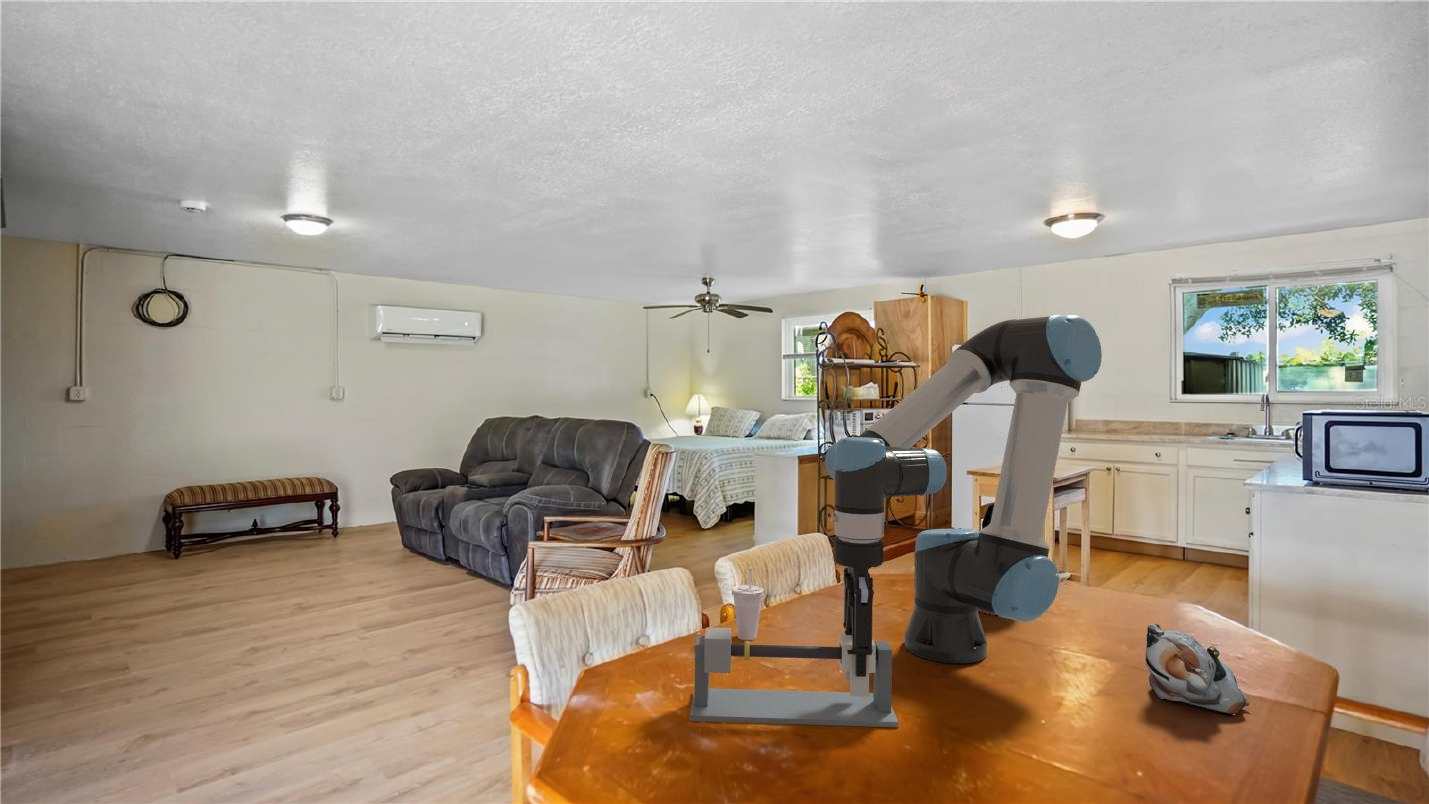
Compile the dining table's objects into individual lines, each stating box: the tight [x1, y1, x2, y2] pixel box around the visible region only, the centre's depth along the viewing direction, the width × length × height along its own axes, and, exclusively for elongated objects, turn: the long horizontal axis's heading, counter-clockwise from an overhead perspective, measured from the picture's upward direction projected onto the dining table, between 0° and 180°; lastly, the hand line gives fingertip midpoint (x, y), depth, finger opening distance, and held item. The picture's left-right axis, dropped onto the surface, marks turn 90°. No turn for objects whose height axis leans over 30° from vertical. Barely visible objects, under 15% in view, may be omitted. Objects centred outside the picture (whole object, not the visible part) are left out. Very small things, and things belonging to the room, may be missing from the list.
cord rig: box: [689, 626, 900, 728], centre depth 113 cm, size 31×10×12 cm, turn 87°
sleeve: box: [838, 634, 876, 674], centre depth 113 cm, size 5×4×4 cm
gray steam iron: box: [1145, 623, 1251, 715], centre depth 117 cm, size 15×12×14 cm
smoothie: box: [731, 566, 764, 641], centre depth 146 cm, size 6×6×14 cm
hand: (856, 686), depth 113 cm, fingers open, 5 cm apart
